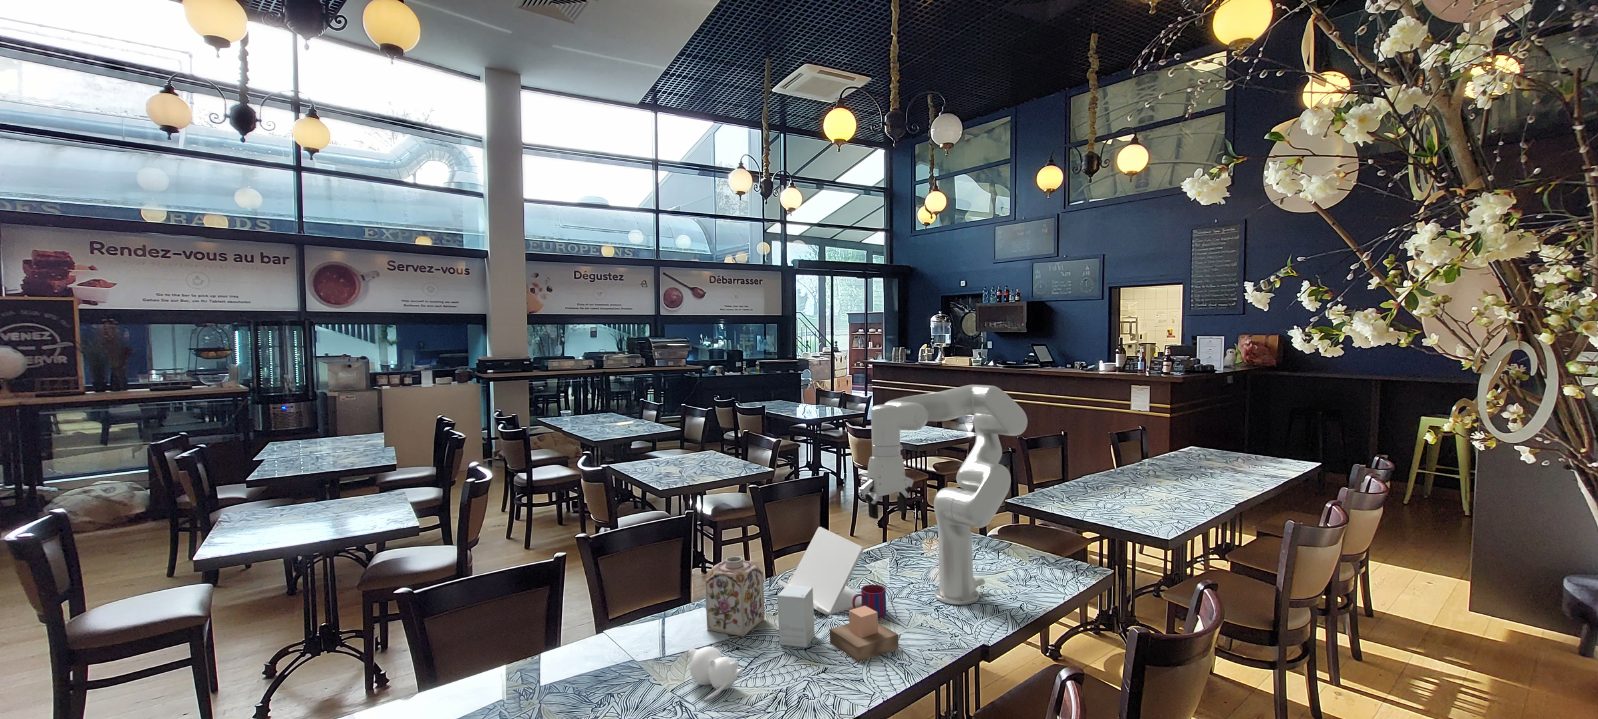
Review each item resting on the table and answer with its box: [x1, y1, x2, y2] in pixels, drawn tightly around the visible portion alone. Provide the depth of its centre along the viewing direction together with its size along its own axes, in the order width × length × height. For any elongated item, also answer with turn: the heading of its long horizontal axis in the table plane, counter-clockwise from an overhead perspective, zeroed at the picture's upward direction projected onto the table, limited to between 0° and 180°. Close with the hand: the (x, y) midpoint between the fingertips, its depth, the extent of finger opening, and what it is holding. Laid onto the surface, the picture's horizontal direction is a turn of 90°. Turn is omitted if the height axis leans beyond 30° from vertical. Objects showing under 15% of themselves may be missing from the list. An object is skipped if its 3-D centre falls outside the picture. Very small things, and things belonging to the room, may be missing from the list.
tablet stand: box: [777, 526, 865, 616], centre depth 192 cm, size 18×25×17 cm
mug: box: [852, 584, 887, 619], centre depth 178 cm, size 7×10×7 cm
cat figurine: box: [688, 646, 744, 702], centre depth 143 cm, size 9×11×12 cm
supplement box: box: [776, 585, 816, 648], centre depth 164 cm, size 7×7×13 cm
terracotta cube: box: [848, 606, 879, 638], centre depth 160 cm, size 5×5×5 cm
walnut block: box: [829, 622, 899, 663], centre depth 160 cm, size 12×12×4 cm
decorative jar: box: [705, 555, 765, 637], centre depth 174 cm, size 12×12×18 cm
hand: (888, 514), depth 174 cm, fingers open, 9 cm apart
